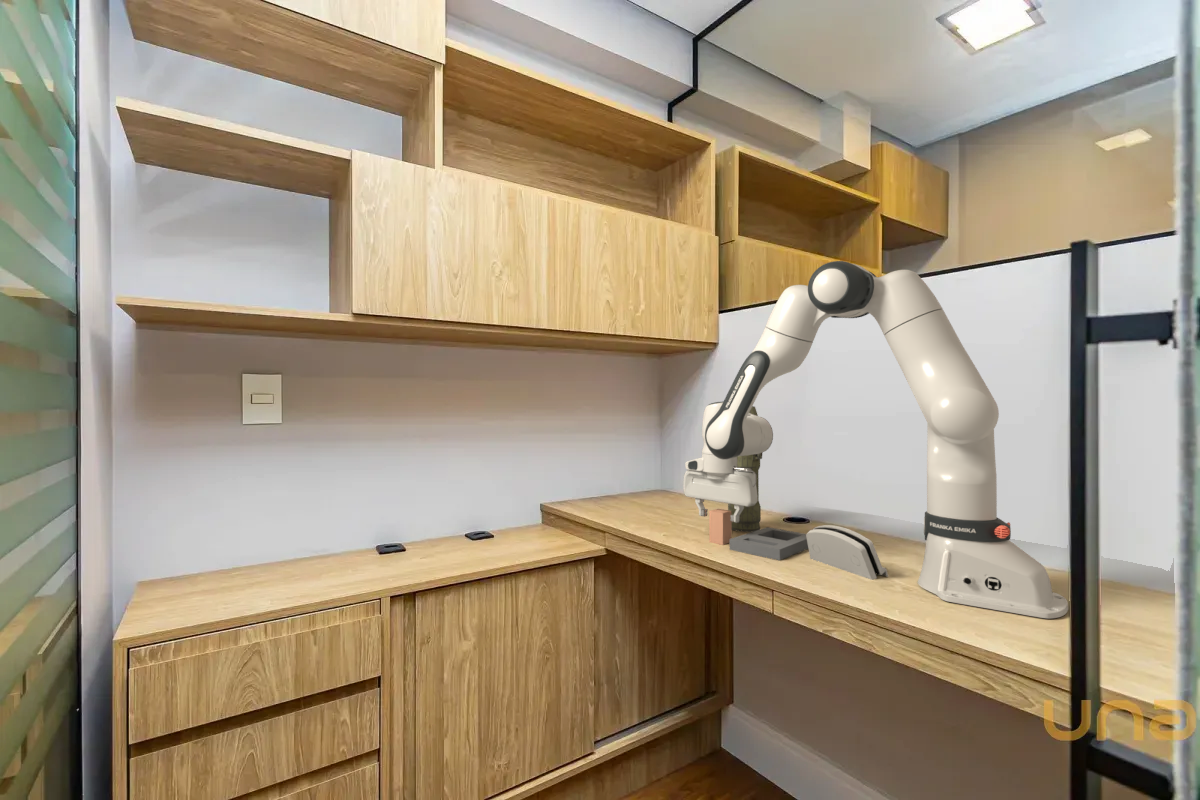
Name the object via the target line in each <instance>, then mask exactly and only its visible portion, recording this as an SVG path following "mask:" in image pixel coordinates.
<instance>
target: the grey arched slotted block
mask: <svg viewBox="0 0 1200 800" xmlns="http://www.w3.org/2000/svg"><path fill="white" fill-rule="evenodd" d="M805 534H806V538H807V543H808V549H807V550H808V554H809V559H810V560H812V559H813V561H815V560H816V561H815V562H818V561H819V562H818V563H821V562H822V564H824V565H827V564H828V565H827V566H830V567H833V568H836V569H839V570H841V571H845V572H847V573H850V574H854V575H857V576H859V577H863V578H865V579H868V580H873V581H874V580H876V579H877V575H880V576H883V577H889V573H888V569H887V568H886V567H883V566H882V564H881V561H880V558H879V556H878V552H877V550H876V548H875V545H874V543H873V541H872V540H871V539H869V538H867V537H866V536H864V535H862V534H861V533H859V532H856V531H854V530H851V529H849V528H846V527H844V526H838V525H833V524H825V525H824V524H823V525H818V526H815V527H814V528H813V529H810V530H809V531H808V532H807V533H805Z"/></svg>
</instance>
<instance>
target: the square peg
mask: <svg viewBox="0 0 1200 800" xmlns="http://www.w3.org/2000/svg"><path fill="white" fill-rule="evenodd" d="M708 511H709V512H708V514H709V519H708V520H709V521H708V522H709V523H708V524H709V525H708V526H709V530H708V532H709V533H708V535H709V543H711V544H716V545H721V546H724V545H727V544H730V539H732V538H733V536H732V534H733V533H732V531H733V530H732V522H731V515H732V511H729V510H728V509H722V508H721V509H720V508H717V509H716V508H715V509H711V510H708Z"/></svg>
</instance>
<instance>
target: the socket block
mask: <svg viewBox="0 0 1200 800" xmlns="http://www.w3.org/2000/svg"><path fill="white" fill-rule="evenodd" d="M806 534H807V533H804V532H803V533H802V532H798V531H792V530H787V529H782V528H780V529H779V528H775V527H771V526H768V527H764V528H760V530H757V531H754V532H746V533H745V534H742V535H738V536H734V537H732V539H730V543H729V550H730V551H734V552H740V553H744V554H748V555H753V556H757V557H761V556H762V558H766V557H767V558H768V559H771V558H772V559H771V560H775V559H776V560H775V561H782V560H784V559H786V558H789V557H791V555H792V556H794V555H796V554H799V553H802V552H804V551H805V550H809V549H808V543H807V538H806ZM781 559H782V560H781Z"/></svg>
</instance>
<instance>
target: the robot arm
mask: <svg viewBox="0 0 1200 800" xmlns="http://www.w3.org/2000/svg"><path fill="white" fill-rule="evenodd" d="M919 275H920V274H918V273H917V272H915V271H913V270H910V269H898V270H894V271H890V272H888V273H886V274H884V275H882V276H879V277H877V276H876V275H875V274H874V273H873V272H871V271H869V270H868V269H866V268H864V267H863V266H861V265H858V264H856V263H851V262H850V261H849V262H848V261H843V260H834V261H829V262H827V263H824V264H822V265H821V266H819V267H818V268H817V269H816V270H815V271H814V272H813V273H812V275H811V276H810V278H809V280H808V283H807V285H805V284H795V285H790V286H789V287H788V286H787V287H786V288H785V289H784V290H783V292H781V294H780V296H779V298H778V300H777V301H776V303H775V304H774V306H773V309H772V311H771V312H770V315H769V317H768V318H767V321H766V324H765V326H764V329H763V331H762V333H761V335H760V338H759V340H758V342H757V343H756V345H755V347H754V348H753V350H752V351H751V353H750V354H748V356H747V357H746V359H745V360H744V362H743V363H742V364H741V366H740V368H739V370H738V371H737V373H736V375H735V378H734V380H733V382H732V384H731V385H730V388H729V389H728V392H727V394H726V395H725V398H724V400H722V401H715V402H711V403H709V404H708V405H706V406H705V409H704V411H703V415H702V427H701V428H702V429H701V432H702V433H701V437H702V441H703V446H702V449H701V450H702V451H701V457H698V458H694V459H691V460H688V461H686V462H685V463H684V466H685V473H684V475H683V481H682V483H683V484H682V485H683V491H682V492H683V494H684V495H685V497H688V498H691V499H692V498H693V499H695V501H694V502H695V505H696V506H697V508H698V516H700V517H707V516H708V514H709V512H708V511H709V510H708V508H706V507H705V504H704V502H705V500H706V501H712V502H719V503H723V504H728V503H729V504H734V508H735V509H736V511H735V513H734V514H733V515H731V522H735V523H737V522H739V515H740V514H741V512H742V511H743V509H744V506H747V507H749V506H754V505H755V504H756V503H757V487H756V474H755V472H754V471H752V470H751V469H750V468H742V467H737V456H747V455H754V454H759V453H762V452H763V453H764V452H766V451H767V450H769V448H770V447H771V446H772V443H773V439H774V433H773V431H774V430H773V427H772V425H771V424H770V422H769V421H768V420H767V419H766V418H764V417H762V416H759V415H758V416H756V415H753V414H750V413H749V412H750V410H751V408H752V406H753V405H754V404H755V402H756V400H757V398H758V395H759V394H760V392H761V391H762V389H764V387H765V386H766V385H767V384H769V383H770V382H772V381H773V380H775V379H777V378H779V377H781V376H784V375H786V374H789V373H791V372H793V371H795V370H797V369H798V368H799V367H801V366H802V364H803V363H804V361H805V360H806V358H807V356H808V354H809V352H810V351H811V348H812V345H813V343H814V341H815V338H816V335H817V333H818V330H819V328H820V327H821V325H822V323H823V322H824V321H826V319H828V318H832V319H833V318H834V319H843V318H844V319H857V318H862V317H866V316H867V315H869V314H870V315H871V316H872V317H873V318H874V320H875V321H876V322H877V324H878V325H879V328H880V330H881V332H882V334H883V335H884V338H885V340H886V342H887V344H888V346H889V347H890V350H891V351H892V353H893V356H894V357H895V359H896V362H897V363H898V366H899V367H900V369H901V371H902V373H903V375H904V377H905V379H906V382H907V384H908V386H909V388H910V390H911V392H912V394H913V397H914V398H915V400H916V402H917V404H918V406H919V408H920V410H921V413H922V415H923V416H924V418H925V420H926V422H927V430H926V432H927V441H926V442H927V444H926V446H927V451H926V452H927V455H926V458H927V459H926V511H925V512H924V517H923V534H924V540H925V550H924V556H923V562H922V566H921V567H922V568H921V570H920V573H919V577H918V580H917V584H918V586H920V587H921V588H922V589H924V590H926V591H927V592H931V593H932V594H934V595H936V596H937V597H938V598H939V599H941V600H943V601H946V602H948V603H949V602H950V603H953V604H961V605H965V606H971V607H976V608H977V607H978V608H982V609H983V608H984V609H988V610H995V611H999V612H1000V611H1001V612H1007V613H1011V614H1012V613H1013V614H1017V615H1018V614H1019V615H1024V616H1030V617H1033V618H1034V617H1035V618H1041V619H1056V618H1061V617H1064V615H1065V616H1066V614H1067V613H1068V611H1069V602H1068V601H1067V598H1066V597H1064V596H1062V594H1060V593H1057V592H1053V588H1052V584H1051V579H1050V576H1049V574H1048V571H1047V570H1046V567H1045V566H1044V565H1043V564H1042V563H1041V562H1039V561H1038V560H1036V558H1034V557H1032V556H1031V555H1029V553H1027V552H1026V551H1025V550H1023V549H1021V548H1020V547H1019V546H1018V545H1016V544H1015V543H1013V542H1012V541H1011V538H1012V537H1011V536H1012V535H1011V529H1012V528H1011V522H1005V520H1002V519H1000V517H998V516H997V513H998V512H997V510H998V509H997V506H998V505H997V503H998V499H997V496H998V495H997V486H998V485H997V484H998V483H997V466H996V465H997V464H996V447H995V446H996V445H995V428H996V426H997V424H998V421H999V417H1000V416H999V415H1000V414H999V407H998V404H997V402H996V400H995V398H994V396H993V395H992V393H991V391H990V389H989V387H988V386H987V384H986V383H985V381H984V379H983V377H982V376H981V374H980V372H979V371H978V368H977V367H976V365H975V364H974V362H973V360H972V359H971V357H970V356H969V354H968V352H967V350H966V349H965V347H964V345H963V343H962V342H961V340H960V338H959V336H958V335H957V333H956V331H955V329H954V327H953V325H952V323H951V322H950V319H949V318H948V316H947V315H946V313H945V311H944V308H943V307H942V305H941V304H940V302H939V300H938V299H937V297H936V295H935V294H934V293H933V291H932V290H931V288H930V287H929V286H928V284H927V283H925V281H924V280H923V279H922V278H921V276H919ZM763 453H762V454H763ZM750 472H752V473H750Z"/></svg>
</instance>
